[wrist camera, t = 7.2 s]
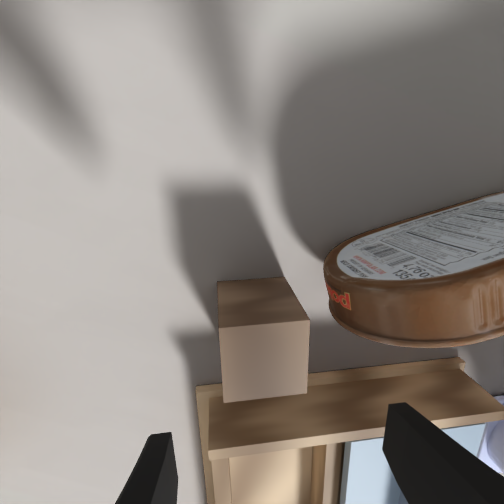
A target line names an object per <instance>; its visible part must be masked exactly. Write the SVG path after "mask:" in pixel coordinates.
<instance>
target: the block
mask: <svg viewBox="0 0 504 504" xmlns="http://www.w3.org/2000/svg"><path fill="white" fill-rule="evenodd" d="M217 293H218V325H219V342H220V357H221V371H222V386H223V401H224V403H228V402H236V401H245V400H254V399H262V398H271V397H279V396H288V395H296V394H305V393H307V382H308V358H309V334H310V319H309V317H308V316H307V314H306V312H305V311H304V309H303V307H302V306H301V304H300V302H299V301H298V299H297V297H296V296H295V294H294V292H293V290H292V289H291V287H290V285H289V284H288V282H287V280H286V279H285V277H275V278H261V279H247V280H233V281H219V282H217Z"/></svg>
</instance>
